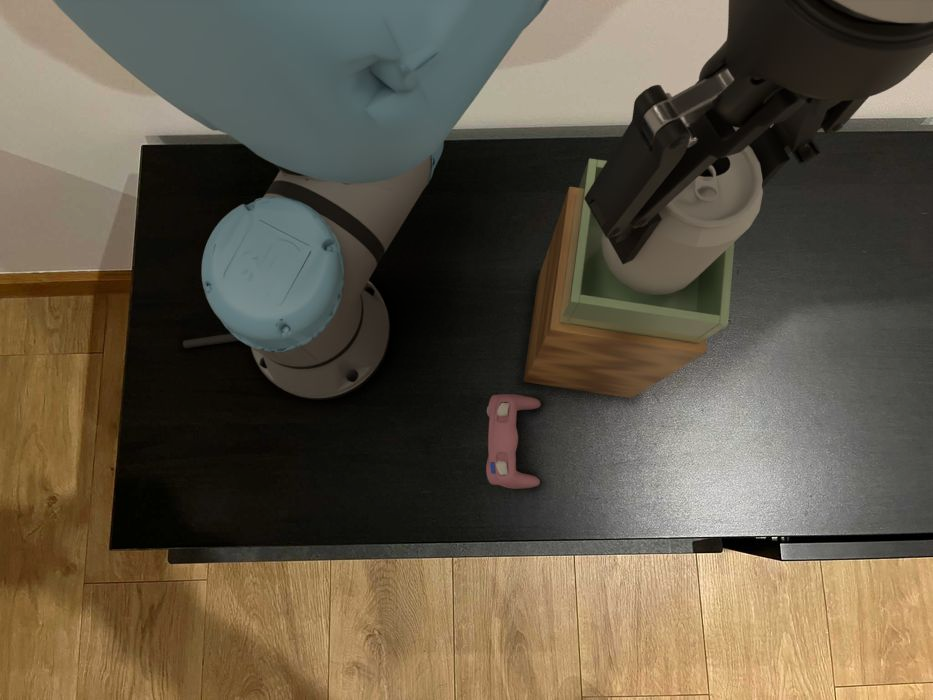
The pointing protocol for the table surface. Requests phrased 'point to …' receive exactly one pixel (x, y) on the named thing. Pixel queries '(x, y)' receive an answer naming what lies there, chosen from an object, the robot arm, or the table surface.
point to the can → (694, 227)
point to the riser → (592, 338)
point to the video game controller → (507, 441)
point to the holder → (627, 311)
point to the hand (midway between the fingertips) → (673, 217)
